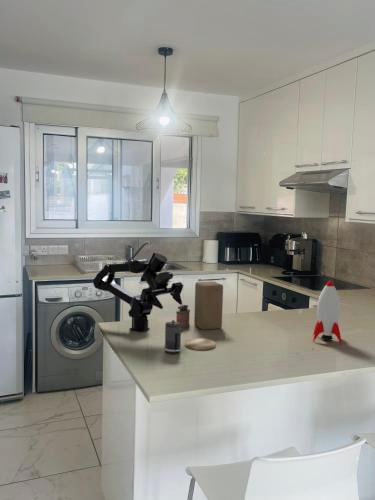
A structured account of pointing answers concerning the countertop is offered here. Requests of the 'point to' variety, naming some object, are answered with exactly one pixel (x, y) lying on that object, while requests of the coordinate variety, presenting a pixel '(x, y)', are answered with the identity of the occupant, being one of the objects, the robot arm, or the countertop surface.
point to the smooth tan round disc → (200, 344)
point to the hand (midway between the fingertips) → (172, 306)
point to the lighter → (183, 316)
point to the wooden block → (208, 305)
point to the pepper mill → (172, 337)
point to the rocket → (328, 313)
